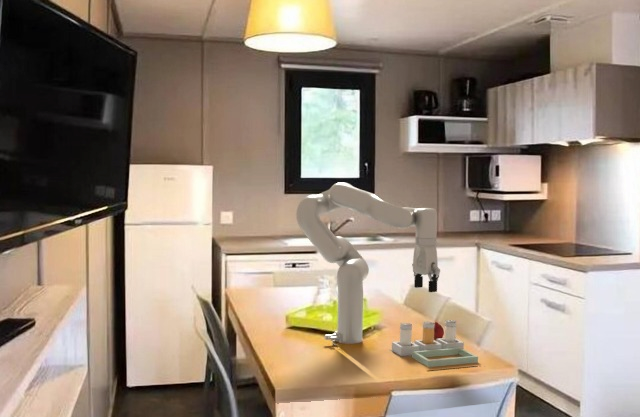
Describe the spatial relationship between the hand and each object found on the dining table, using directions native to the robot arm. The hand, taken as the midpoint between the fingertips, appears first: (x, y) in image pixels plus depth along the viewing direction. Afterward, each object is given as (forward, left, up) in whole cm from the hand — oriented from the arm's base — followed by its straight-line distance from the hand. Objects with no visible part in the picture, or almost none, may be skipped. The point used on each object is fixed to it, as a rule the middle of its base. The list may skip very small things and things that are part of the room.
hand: (425, 289), depth 221 cm
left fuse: (-9, -4, -21) cm, 24 cm away
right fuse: (+9, -4, -21) cm, 23 cm away
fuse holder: (0, -4, -23) cm, 23 cm away
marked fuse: (0, -4, -21) cm, 22 cm away
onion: (+12, +11, -23) cm, 28 cm away
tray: (0, -15, -23) cm, 27 cm away
